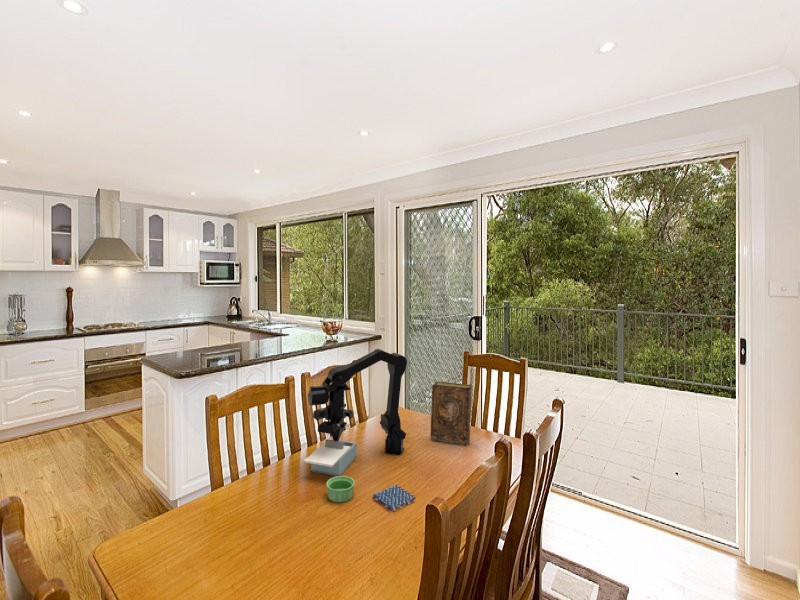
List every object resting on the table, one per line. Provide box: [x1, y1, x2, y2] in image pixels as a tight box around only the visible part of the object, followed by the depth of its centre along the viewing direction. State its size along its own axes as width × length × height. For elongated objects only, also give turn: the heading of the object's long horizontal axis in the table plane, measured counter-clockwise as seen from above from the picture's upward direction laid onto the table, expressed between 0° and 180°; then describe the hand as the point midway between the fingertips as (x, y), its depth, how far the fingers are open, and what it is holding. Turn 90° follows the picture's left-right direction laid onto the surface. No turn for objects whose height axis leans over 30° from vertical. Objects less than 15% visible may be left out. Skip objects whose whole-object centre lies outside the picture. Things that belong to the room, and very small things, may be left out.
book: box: [430, 381, 472, 447], centre depth 173 cm, size 16×6×25 cm, turn 73°
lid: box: [303, 438, 350, 467], centre depth 145 cm, size 16×11×3 cm
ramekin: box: [326, 475, 355, 503], centre depth 129 cm, size 9×9×4 cm
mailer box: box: [310, 438, 358, 477], centre depth 150 cm, size 16×11×6 cm
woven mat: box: [371, 484, 416, 514], centre depth 127 cm, size 10×11×2 cm
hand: (335, 442), depth 151 cm, fingers closed
